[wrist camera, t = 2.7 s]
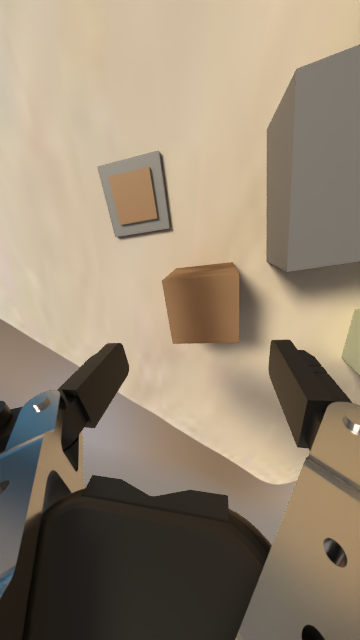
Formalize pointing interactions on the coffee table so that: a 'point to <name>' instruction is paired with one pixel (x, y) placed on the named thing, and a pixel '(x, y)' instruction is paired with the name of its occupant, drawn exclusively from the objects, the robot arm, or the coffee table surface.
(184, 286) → the walnut cube
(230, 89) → the coffee table surface
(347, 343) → the sage cube
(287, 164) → the base block
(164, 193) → the card
